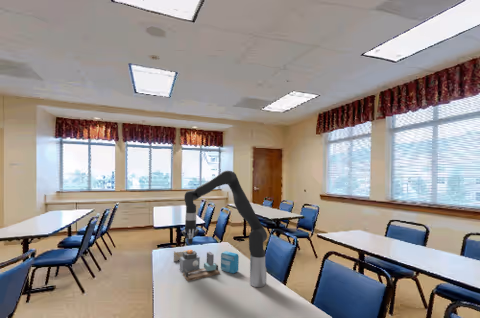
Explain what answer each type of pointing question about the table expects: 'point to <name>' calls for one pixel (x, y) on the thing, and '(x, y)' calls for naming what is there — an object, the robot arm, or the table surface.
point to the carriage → (210, 262)
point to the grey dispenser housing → (189, 261)
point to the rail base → (199, 273)
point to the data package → (229, 262)
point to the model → (178, 255)
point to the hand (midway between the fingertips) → (190, 243)
